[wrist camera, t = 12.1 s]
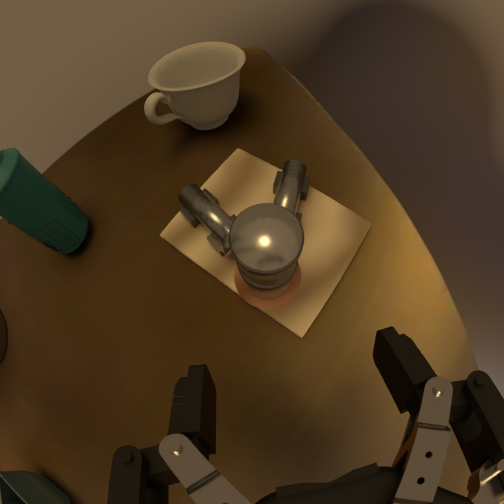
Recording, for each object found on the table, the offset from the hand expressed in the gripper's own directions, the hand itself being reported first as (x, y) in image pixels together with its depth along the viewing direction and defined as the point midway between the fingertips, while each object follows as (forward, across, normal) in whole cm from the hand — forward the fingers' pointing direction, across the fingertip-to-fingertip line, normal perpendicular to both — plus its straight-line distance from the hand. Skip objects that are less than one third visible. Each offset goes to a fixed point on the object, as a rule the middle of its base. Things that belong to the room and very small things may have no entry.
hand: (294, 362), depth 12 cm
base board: (+19, -1, +1) cm, 19 cm away
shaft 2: (+19, -3, -1) cm, 20 cm away
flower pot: (-4, +34, +24) cm, 42 cm away
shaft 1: (+19, +4, -1) cm, 19 cm away
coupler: (+14, 0, +4) cm, 15 cm away
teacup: (+32, +5, -12) cm, 34 cm away
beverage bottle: (+22, +23, -2) cm, 32 cm away
